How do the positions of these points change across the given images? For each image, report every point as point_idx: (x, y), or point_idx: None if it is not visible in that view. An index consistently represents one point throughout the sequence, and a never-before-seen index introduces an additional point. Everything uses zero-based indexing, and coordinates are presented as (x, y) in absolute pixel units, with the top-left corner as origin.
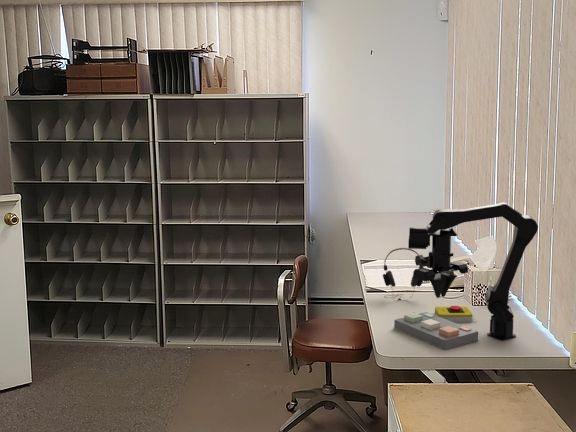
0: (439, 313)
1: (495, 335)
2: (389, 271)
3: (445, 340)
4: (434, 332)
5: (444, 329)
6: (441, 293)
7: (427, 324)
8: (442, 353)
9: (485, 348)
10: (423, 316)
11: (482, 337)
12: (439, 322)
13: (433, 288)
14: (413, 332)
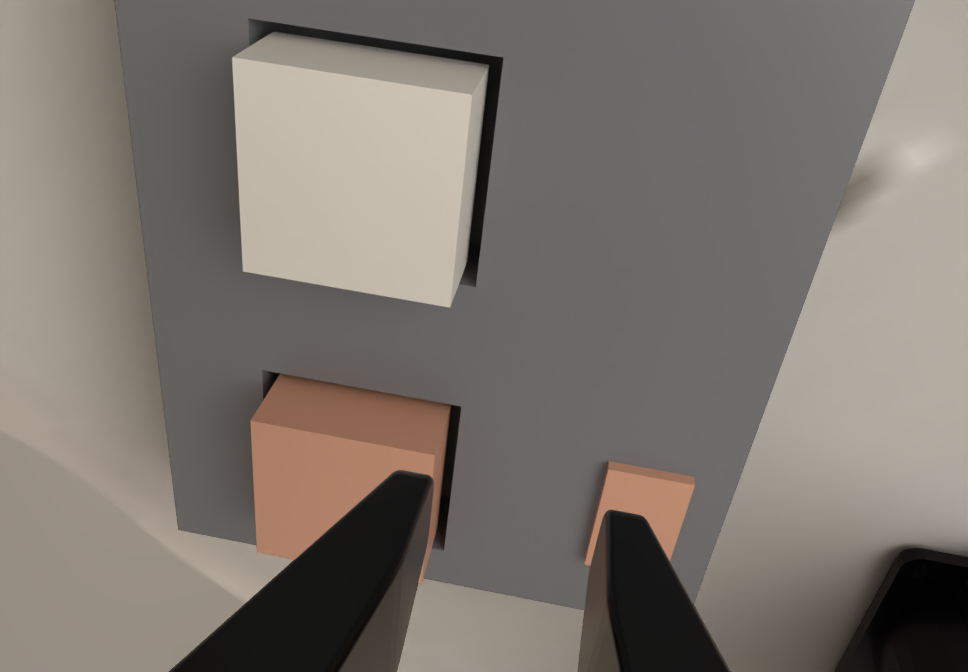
0: None
1: (880, 642)
2: None
3: (179, 529)
4: (243, 335)
5: (282, 480)
6: (604, 574)
7: (243, 209)
8: (148, 479)
9: (545, 649)
10: None
11: (803, 538)
12: (443, 299)
13: (188, 663)
14: None
